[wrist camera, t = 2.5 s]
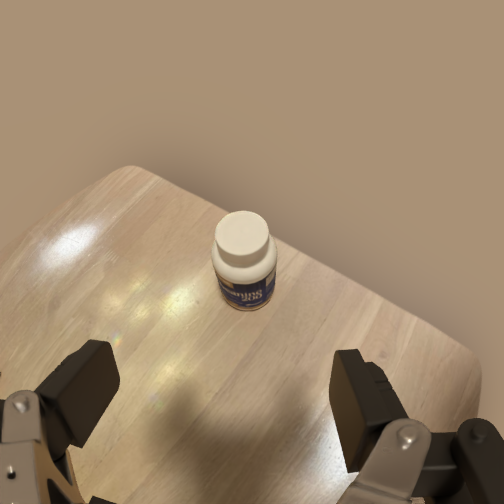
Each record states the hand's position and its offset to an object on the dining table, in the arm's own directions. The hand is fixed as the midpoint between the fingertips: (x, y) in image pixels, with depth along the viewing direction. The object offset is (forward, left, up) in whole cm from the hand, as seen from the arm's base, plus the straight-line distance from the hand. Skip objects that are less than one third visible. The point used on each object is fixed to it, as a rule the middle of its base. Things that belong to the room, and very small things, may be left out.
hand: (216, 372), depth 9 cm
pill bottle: (0, -11, -17) cm, 20 cm away
